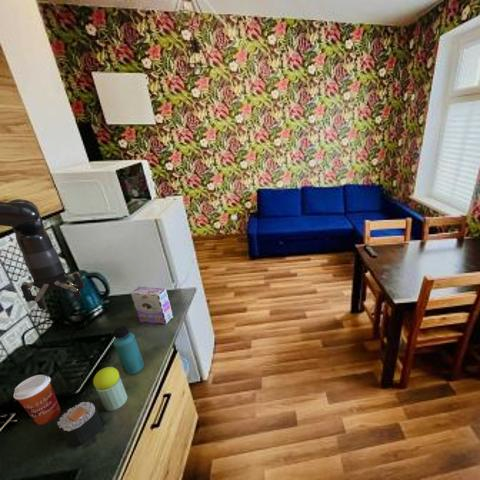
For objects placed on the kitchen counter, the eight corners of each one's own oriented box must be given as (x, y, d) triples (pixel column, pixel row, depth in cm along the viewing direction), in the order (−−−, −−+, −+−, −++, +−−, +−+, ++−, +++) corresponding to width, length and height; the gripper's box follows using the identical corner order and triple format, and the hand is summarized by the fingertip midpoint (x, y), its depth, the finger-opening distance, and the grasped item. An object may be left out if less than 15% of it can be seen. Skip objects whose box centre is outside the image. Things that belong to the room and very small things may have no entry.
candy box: (174, 317, 128) (166, 288, 121) (166, 325, 122) (158, 295, 116) (147, 314, 129) (139, 285, 123) (138, 322, 124) (129, 292, 117)
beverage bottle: (149, 365, 102) (136, 323, 94) (135, 380, 96) (120, 337, 88) (134, 362, 103) (120, 321, 95) (120, 377, 97) (103, 334, 89)
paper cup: (32, 434, 79) (11, 401, 73) (30, 416, 83) (11, 384, 78) (67, 414, 84) (50, 383, 79) (63, 399, 89) (47, 368, 83)
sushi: (91, 413, 85) (83, 396, 81) (108, 424, 82) (100, 406, 78) (60, 438, 78) (50, 420, 75) (78, 451, 75) (68, 433, 72)
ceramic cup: (101, 413, 85) (92, 393, 81) (109, 395, 90) (101, 376, 87) (123, 408, 86) (115, 388, 83) (130, 391, 92) (123, 372, 88)
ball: (92, 396, 82) (86, 381, 79) (102, 379, 87) (96, 364, 85) (117, 391, 83) (111, 376, 81) (124, 374, 89) (119, 360, 86)
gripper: (74, 252, 91) (89, 292, 97) (14, 263, 83) (35, 306, 90) (71, 260, 86) (88, 302, 92) (7, 273, 78) (30, 318, 84)
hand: (62, 304), depth 91 cm, fingers open, 8 cm apart
